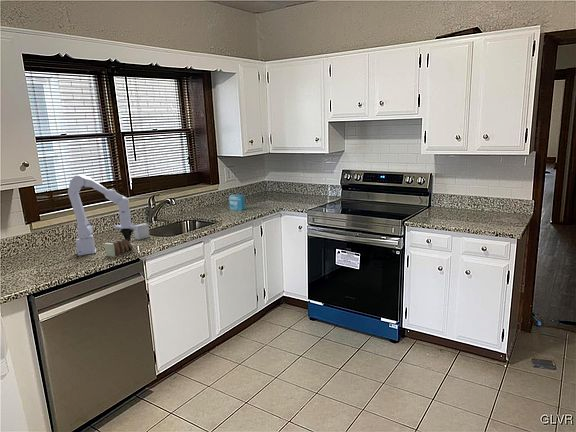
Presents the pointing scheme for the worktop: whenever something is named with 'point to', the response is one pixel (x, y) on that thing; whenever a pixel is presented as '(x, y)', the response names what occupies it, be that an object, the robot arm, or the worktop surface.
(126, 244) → the tile
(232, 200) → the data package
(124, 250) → the tile
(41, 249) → the worktop surface
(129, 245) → the head tile
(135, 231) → the medicine box
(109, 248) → the tile
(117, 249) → the tile
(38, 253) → the worktop surface
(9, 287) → the worktop surface
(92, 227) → the robot arm
